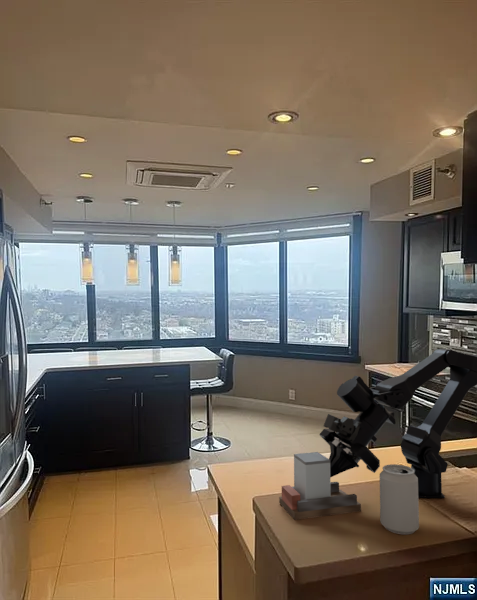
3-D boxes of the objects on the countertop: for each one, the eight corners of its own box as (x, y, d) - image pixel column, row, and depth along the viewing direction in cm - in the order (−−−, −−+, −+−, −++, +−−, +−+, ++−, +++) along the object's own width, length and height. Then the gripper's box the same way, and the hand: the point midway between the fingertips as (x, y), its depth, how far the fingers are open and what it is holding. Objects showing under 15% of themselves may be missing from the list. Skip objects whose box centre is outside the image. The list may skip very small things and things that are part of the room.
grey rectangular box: (317, 493, 104) (317, 451, 104) (330, 503, 97) (330, 459, 98) (294, 496, 102) (293, 454, 102) (305, 507, 96) (305, 462, 96)
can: (422, 538, 86) (421, 475, 86) (382, 534, 87) (381, 473, 88) (415, 521, 93) (414, 463, 94) (378, 518, 94) (377, 461, 95)
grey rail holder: (340, 495, 107) (340, 476, 107) (361, 510, 98) (360, 490, 98) (279, 503, 102) (279, 483, 102) (294, 519, 94) (294, 498, 94)
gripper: (326, 396, 112) (286, 443, 109) (366, 409, 94) (320, 466, 91) (353, 425, 114) (315, 472, 110) (399, 444, 96) (355, 501, 92)
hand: (324, 477), depth 101 cm, fingers closed
